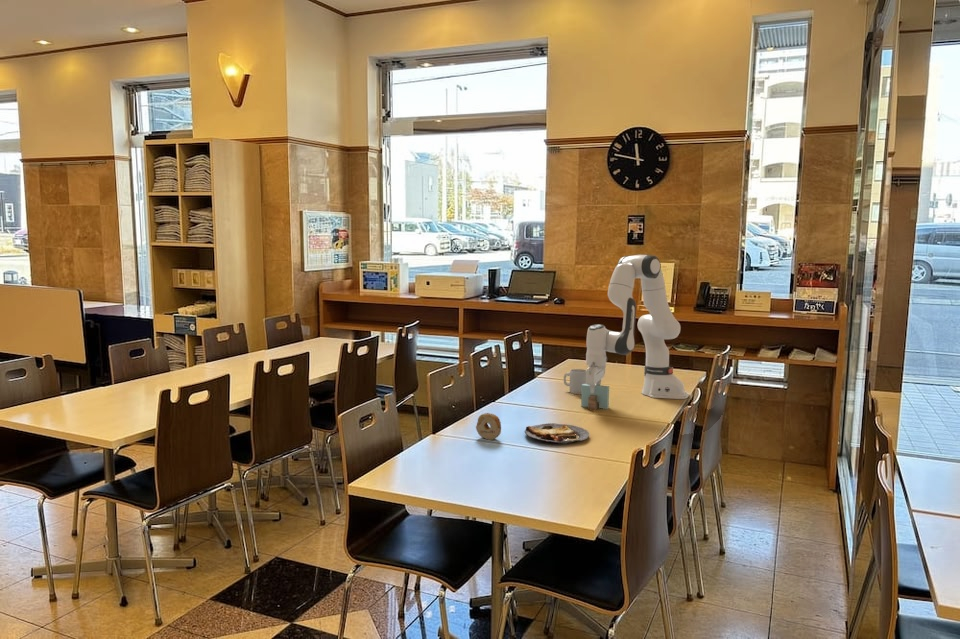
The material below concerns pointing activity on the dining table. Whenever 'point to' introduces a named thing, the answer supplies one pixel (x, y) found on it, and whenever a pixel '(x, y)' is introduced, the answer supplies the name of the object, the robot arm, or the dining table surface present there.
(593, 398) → the brown notched block
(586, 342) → the robot arm
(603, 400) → the teal notched block
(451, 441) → the dining table surface
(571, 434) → the food plate
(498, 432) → the stone disc
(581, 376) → the mug
